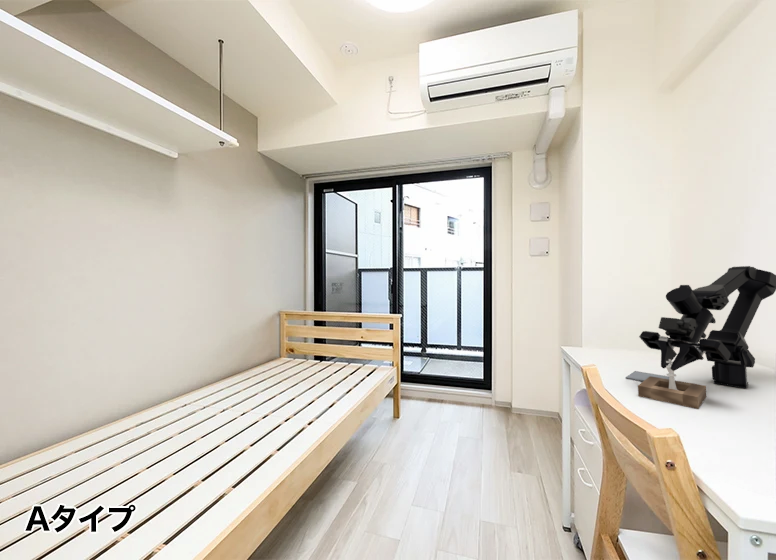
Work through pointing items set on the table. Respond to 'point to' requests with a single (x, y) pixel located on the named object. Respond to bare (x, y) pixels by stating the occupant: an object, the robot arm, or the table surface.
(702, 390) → the socket block
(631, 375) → the slate mat
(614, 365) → the table surface
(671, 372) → the chess piece
